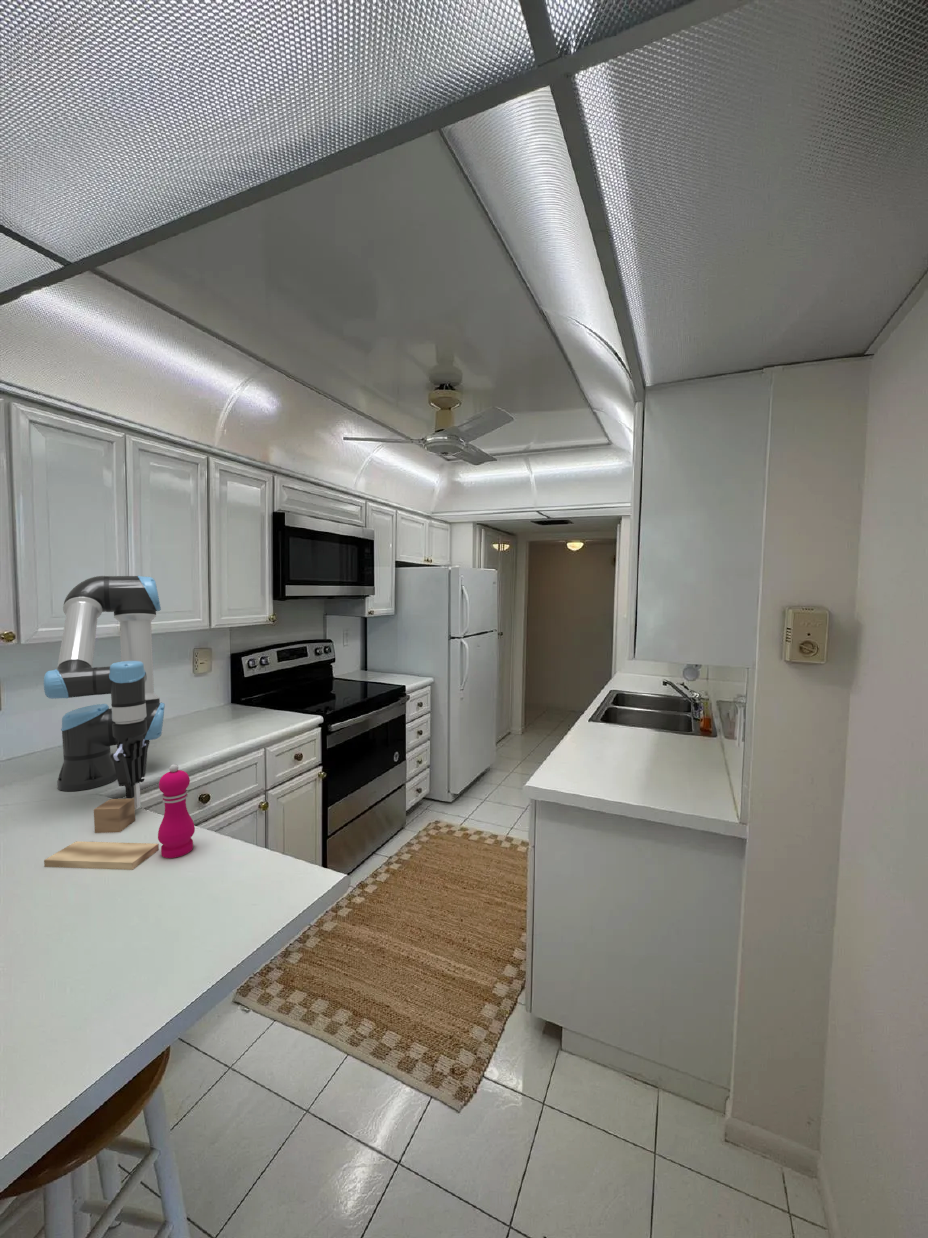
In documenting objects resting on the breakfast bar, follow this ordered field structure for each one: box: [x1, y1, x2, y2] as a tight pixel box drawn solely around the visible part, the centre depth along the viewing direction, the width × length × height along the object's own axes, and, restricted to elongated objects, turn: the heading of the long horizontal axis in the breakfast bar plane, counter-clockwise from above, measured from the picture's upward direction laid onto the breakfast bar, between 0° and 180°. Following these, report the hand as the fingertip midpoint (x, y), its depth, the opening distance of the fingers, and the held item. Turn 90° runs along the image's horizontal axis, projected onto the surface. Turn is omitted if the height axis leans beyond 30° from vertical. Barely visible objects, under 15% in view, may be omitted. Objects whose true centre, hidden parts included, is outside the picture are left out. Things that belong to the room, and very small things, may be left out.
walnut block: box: [93, 798, 136, 834], centre depth 124 cm, size 6×6×6 cm
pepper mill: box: [157, 764, 196, 859], centre depth 111 cm, size 7×7×20 cm
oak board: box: [43, 840, 160, 871], centre depth 109 cm, size 8×20×2 cm, turn 86°
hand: (133, 808), depth 131 cm, fingers closed
